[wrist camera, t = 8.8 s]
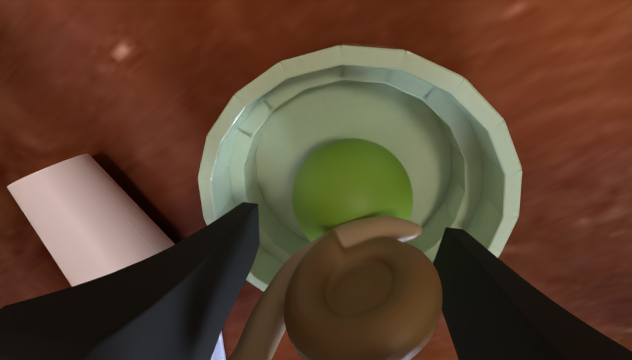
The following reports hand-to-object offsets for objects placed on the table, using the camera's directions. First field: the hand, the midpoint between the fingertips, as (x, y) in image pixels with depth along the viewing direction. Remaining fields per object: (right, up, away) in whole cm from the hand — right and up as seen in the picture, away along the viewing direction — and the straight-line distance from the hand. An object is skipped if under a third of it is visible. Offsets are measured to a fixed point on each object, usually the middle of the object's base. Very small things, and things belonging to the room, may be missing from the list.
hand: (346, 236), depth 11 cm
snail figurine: (0, +2, +5) cm, 5 cm away
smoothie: (-16, +3, +4) cm, 16 cm away
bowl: (+1, +3, +5) cm, 6 cm away
